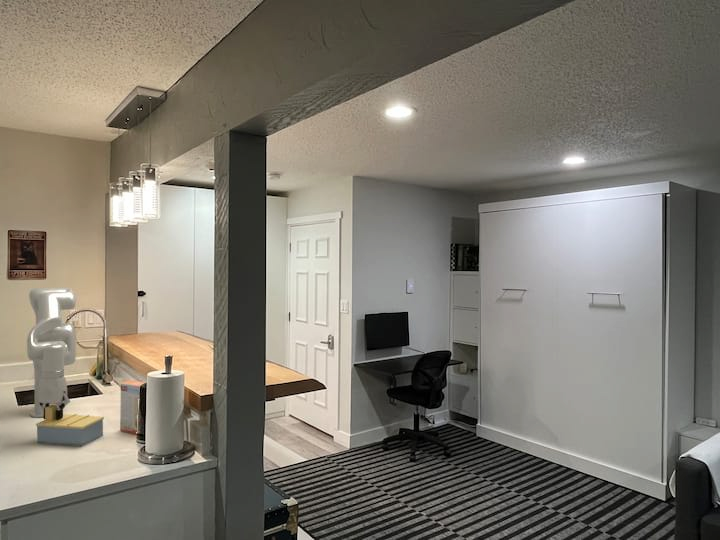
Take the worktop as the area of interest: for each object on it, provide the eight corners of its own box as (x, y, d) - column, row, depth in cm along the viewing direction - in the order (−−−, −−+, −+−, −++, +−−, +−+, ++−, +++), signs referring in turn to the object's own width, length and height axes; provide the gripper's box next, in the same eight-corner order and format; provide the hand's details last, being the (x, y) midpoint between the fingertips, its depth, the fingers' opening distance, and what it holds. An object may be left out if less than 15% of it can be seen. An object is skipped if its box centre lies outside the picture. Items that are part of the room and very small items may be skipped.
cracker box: (154, 431, 206) (154, 383, 206) (142, 436, 201) (143, 386, 200) (131, 426, 212) (131, 379, 212) (119, 431, 207) (119, 382, 206)
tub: (37, 442, 192) (37, 425, 192) (59, 432, 204) (60, 416, 204) (82, 446, 189) (82, 428, 189) (102, 435, 201) (102, 418, 201)
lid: (35, 425, 192) (35, 410, 192) (59, 415, 204) (59, 401, 204) (82, 429, 189) (82, 413, 189) (104, 418, 201) (104, 403, 201)
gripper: (27, 375, 195) (27, 420, 195) (65, 377, 192) (64, 422, 193) (42, 371, 202) (42, 414, 203) (78, 373, 200) (78, 416, 200)
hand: (53, 418), depth 198 cm, fingers open, 4 cm apart
